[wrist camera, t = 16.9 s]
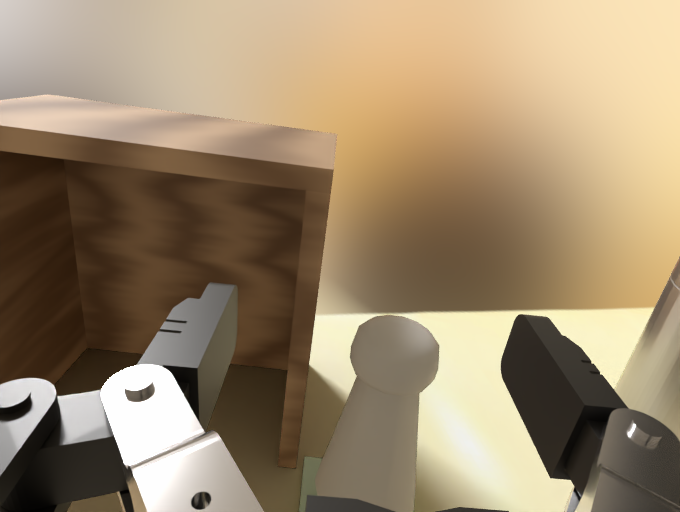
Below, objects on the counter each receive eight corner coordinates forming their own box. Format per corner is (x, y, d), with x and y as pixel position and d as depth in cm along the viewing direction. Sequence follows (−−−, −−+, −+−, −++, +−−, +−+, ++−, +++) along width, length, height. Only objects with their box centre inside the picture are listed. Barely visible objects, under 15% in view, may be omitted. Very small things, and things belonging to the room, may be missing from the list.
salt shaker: (400, 578, 23) (460, 385, 18) (298, 543, 24) (326, 350, 19) (410, 485, 28) (459, 315, 23) (326, 459, 29) (354, 290, 24)
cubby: (308, 363, 39) (337, 134, 31) (295, 468, 29) (333, 169, 21) (80, 338, 38) (48, 94, 30) (-13, 436, 28) (-100, 111, 20)
